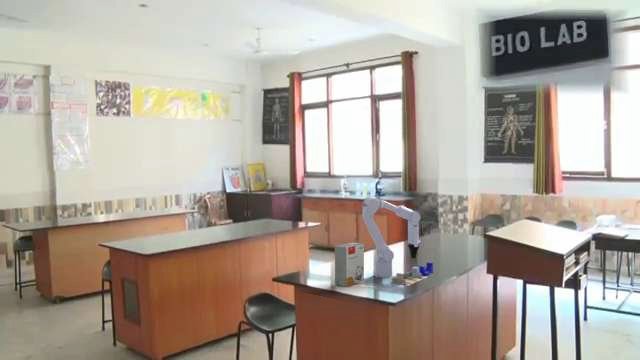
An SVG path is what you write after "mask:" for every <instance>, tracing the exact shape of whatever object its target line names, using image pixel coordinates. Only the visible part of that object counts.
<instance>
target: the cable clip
mask: <svg viewBox="0 0 640 360" xmlns="http://www.w3.org/2000/svg"><path fill="white" fill-rule="evenodd" d="M417 267H419V273H421V276H425V277H428V276H430V275H431V274H434V262H429V261H428V262H426V266H425V265H419V266H417Z"/></svg>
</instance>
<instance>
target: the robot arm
mask: <svg viewBox="0 0 640 360" xmlns="http://www.w3.org/2000/svg"><path fill="white" fill-rule="evenodd" d="M361 206H362V208H361V209H362V212H361V217H362V220H363V222H364V224H365V226H366V228H367V231H368V233H369V234H370V236H371V239H372V240H373V242H374V245H375V250H376V256H377V257H378V260H374V273H373V274H374V276H375V277H376V278H392V277H393V260H394V257H395V254H394V251H393V250H391V249H390V247H389V246H388V244H386V241H385V240H384V238H383V236H382V233H381V230H380V229H379V227H378V224H377V223H376V221H375V218H374V215H375V214H376V212H377V211H378V210H379V209H383V208H384V209H386V210H389V211H391V212H394V213H395V215H396V216H397V217H399V218H403V219H405V220H407V243H408V244H407V247H408V249H409V253H410V257H411V259H416V257H417V255H418V251H419V248H420V244H419V243H421V242H422V241H421V240H420V237H419V236H420V235H419V234H420V233H419V229H420V226H419V223H420V220H421V217H422V216H421V215H420V213H419V212H418V211H414V210H413V209H412V208H407V207H406V206H405V205H404V204H402V205H395V204H392V203H390V202H388V201H386V200H384V199H379V198H376V197H375V198H373V197H371V196H367V197H365V198H364V199H363V201H362V203H361Z"/></svg>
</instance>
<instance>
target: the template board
mask: <svg viewBox="0 0 640 360" xmlns="http://www.w3.org/2000/svg"><path fill="white" fill-rule="evenodd" d="M427 278H428V276H421V277H418V278H414V277H412V270H409V271H406V272H404V273H401V272H396V276H394V277H391V282H390V283H391V284H396V285H401V286H408V287H409V286H410V285H413V284H415V283H418V282H419V281H422V280H425V279H427Z"/></svg>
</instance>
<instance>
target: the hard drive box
mask: <svg viewBox="0 0 640 360" xmlns="http://www.w3.org/2000/svg"><path fill="white" fill-rule="evenodd" d="M363 280H365V244H364V243H360V242H349V243H343V244H339V245H335V246H334V285H335V286H336V285H337V286H340V287H345V288H347V287H350V286H353V285H356V284H357V283H358V282H361V281H363Z"/></svg>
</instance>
